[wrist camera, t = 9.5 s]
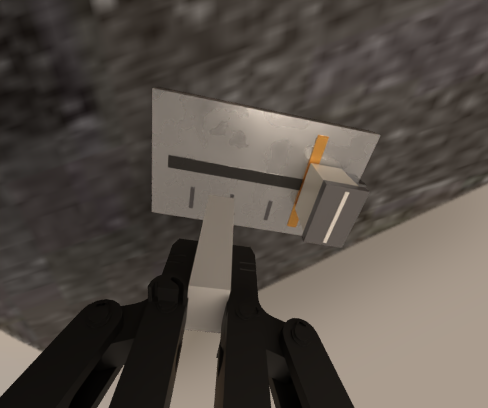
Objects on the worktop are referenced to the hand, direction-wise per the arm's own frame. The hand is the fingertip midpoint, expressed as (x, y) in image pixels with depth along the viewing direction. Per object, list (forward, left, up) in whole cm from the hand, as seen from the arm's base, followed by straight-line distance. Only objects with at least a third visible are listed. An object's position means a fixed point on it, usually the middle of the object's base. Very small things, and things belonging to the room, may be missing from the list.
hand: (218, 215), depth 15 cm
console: (+1, +3, -11) cm, 11 cm away
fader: (+1, +9, -9) cm, 13 cm away
